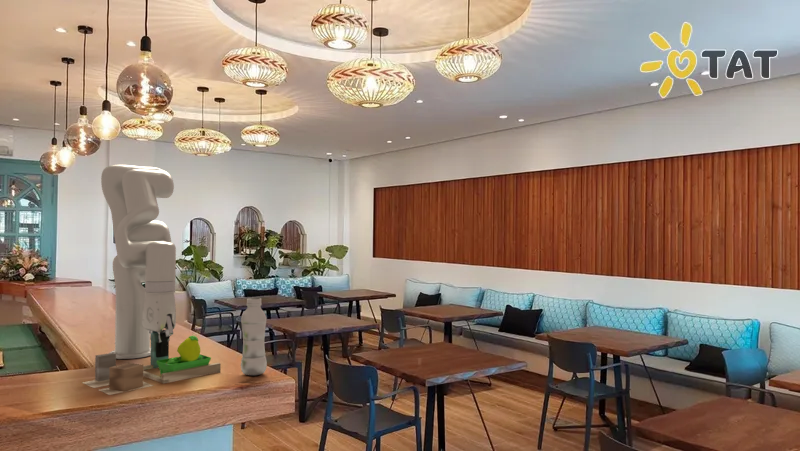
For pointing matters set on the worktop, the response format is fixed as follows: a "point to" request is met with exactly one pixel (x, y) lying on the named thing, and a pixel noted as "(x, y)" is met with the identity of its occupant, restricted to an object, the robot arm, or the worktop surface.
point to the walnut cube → (125, 377)
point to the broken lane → (109, 391)
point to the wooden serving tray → (180, 373)
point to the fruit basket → (184, 357)
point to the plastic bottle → (253, 338)
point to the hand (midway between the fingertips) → (159, 355)
